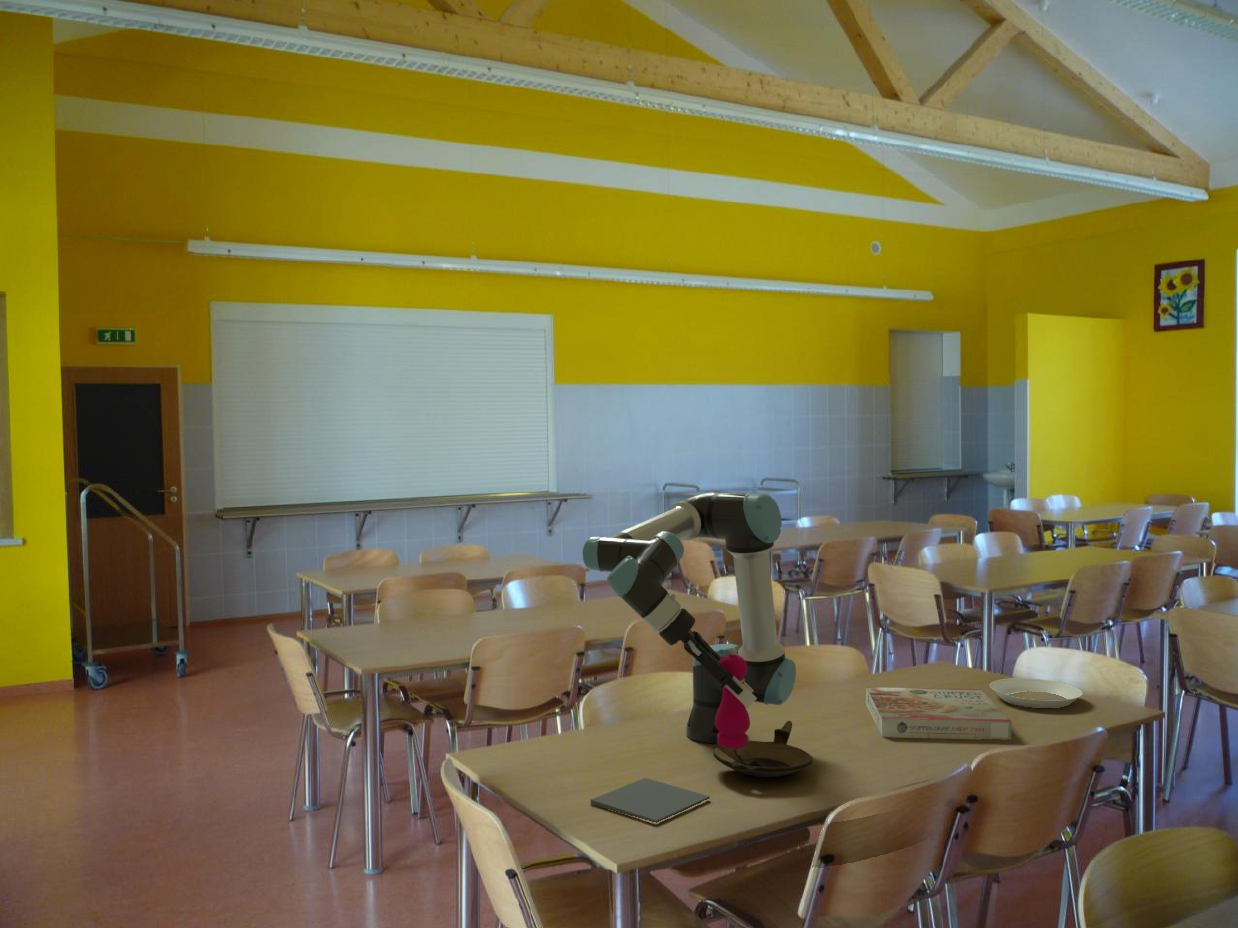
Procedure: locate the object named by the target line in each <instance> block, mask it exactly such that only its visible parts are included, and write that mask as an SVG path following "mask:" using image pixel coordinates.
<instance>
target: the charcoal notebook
mask: <svg viewBox="0 0 1238 928" xmlns="http://www.w3.org/2000/svg"><path fill="white" fill-rule="evenodd" d="M710 797H711V795H706V794H703V793H700V792H696V791H692V790H689V789H686V788H684V787H683V788H682V787H679V786H676V785H675V786H674V785H673V784H668V783H664V782H661V781H658V780H654V779H651V778H647V777H644V778H641V779H639V780H637V781H633V782H631V783H628V784H626V785H624V786H622V787H618V788H616V789H614V790H611V791H609V792H607V793H604V794H601V795H599V796H595V797H593V798H591V799H590V805H591V804H592V806H595V805H596V806H595V807H598V806H599V807H598V808H601V807H603V808H602V809H604V808H606V809H605V810H607V809H610V810H613V811H616V812H620V813H623V814H627V815H630V816H635V817H638V818H642V819H645V820H649V821H652V822H656V823H657V822H659V821H661V820H663V819H666V818H668V817H670V816H672V815H675V814H677V813H679V812H682V811H684V810H686V809H688V808H690V807H692V806H694V805H696V804H699V803H701V802H702V801H704V800H707V799H709V798H710ZM710 799H711V798H710ZM610 810H609V811H610ZM613 811H612V812H613ZM616 812H615V813H616Z"/></svg>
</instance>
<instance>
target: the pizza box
mask: <svg viewBox="0 0 1238 928" xmlns="http://www.w3.org/2000/svg"><path fill="white" fill-rule="evenodd" d="M865 705H866V707H867V709H868V711H869V713H870V715H871V717H872V720H873V722H874V723H875V725H876V727H877V729H878V731H879V733H880V736H881V737H882V738H905V739H908V738H910V739H912V738H913V739H939V740H940V739H946V740H947V739H951V740H981V739H1011V740H1012V724H1013V723H1012V720H1011V719H1010V718H1009V717H1008V716H1007V714H1005V713H1004V711H1002V710H1001V709H1000V707H999V706H998V705H997V704H995V702H994V701H993V700H992V699H991V698H990V697H989V696H988V695H987V693H986V692H985V691H983V689H982V688H981V689H980V688H941V687H939V688H935V687H932V688H931V687H892V686H891V687H889V686H888V687H887V686H882V687H881V686H866V687H865Z"/></svg>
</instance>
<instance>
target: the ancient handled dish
mask: <svg viewBox="0 0 1238 928" xmlns="http://www.w3.org/2000/svg"><path fill="white" fill-rule="evenodd" d="M792 728H793V722H792V720H787V721H786V722H785V723H784V725H783V726H782V727H781V728H775V729H774V732H773V733H774V736H773V741H759V740H757V741H756V740H748V744H747V745H746V746H744V747H741V748H732V750H733V752H734V753H735V755H736V757H737V758H738V759H739V760H740V762H739V761H737V760H735V759H733V758H732V757H731V756H730V757H729V756H728V754H726V753H724V752H723V751H722V750H721V749H720V748H718V747H715V748H714V749H713V750H712V754H713V757H714V759H716V760H717V761H718V762H719V763H721V764H723V765H724V766H726V767H727V768H729V769H732V770H734V771H737V772H739V773H741V774H745V775H749V776H752V777H759V778H777V777H782V776H786V775H791V774H793V773H797V772H799V771H802V770H803V769H806V768H808V767H809V766H811V765H812V764H813V759H814V758H813V757H812V755H811V754H810V753H808V752H806V751H805V750H804V749H801V748H799V747H796V746H792V745H789V744H788V742H789V739H790V736H791V732H792ZM754 764H755V765H756V766H754Z"/></svg>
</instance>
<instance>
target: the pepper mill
mask: <svg viewBox="0 0 1238 928" xmlns="http://www.w3.org/2000/svg"><path fill="white" fill-rule="evenodd" d="M728 653H729V655H726V656H724V657H722V658H721V659H720V661H719V662H720V663H721V664H722V665H723V666H724V668H725V669H726V670H727V671H728V672H729V673H730V674H732V675H733V676H735V677H736V678H737V679H738V680H739V681H740V682H741V683H742V684H743V685H745V683H744V681H745V679H744V678H743V676H744V675H745V674H746V672H747V664H746V661H745V660H744V659H743V658H742V657H741V656H739V655H736V653H737V650H736V649H735V648H734V647H731V648H729V650H728ZM720 685H721V684H720ZM722 689H723V694H722V701H721V704H720V706H719V709H718V711H717V713H716V717H715V726H716V728H717V729H718V730H719V732H720V733H718V735H717V743H716V744H717V745H718V746H720V747H723V748H727V749H733V748H741V747H744V746H746V745H747V744H748V741H749V740H748V739H749V738H748V737H749V736H748V734H747V732H748V730H749V729H750V727H751V719H750V714H749V712H748V710H747V707H746V706H745V705H744V704H743V703H742V702H741V701H740V700H739V699H738V698H737V697H735V696H734V695H733V694H732V693H731V692H730V691H729V690H728V689H727V688H726V687H725V686H724V687H723V688H722Z"/></svg>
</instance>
